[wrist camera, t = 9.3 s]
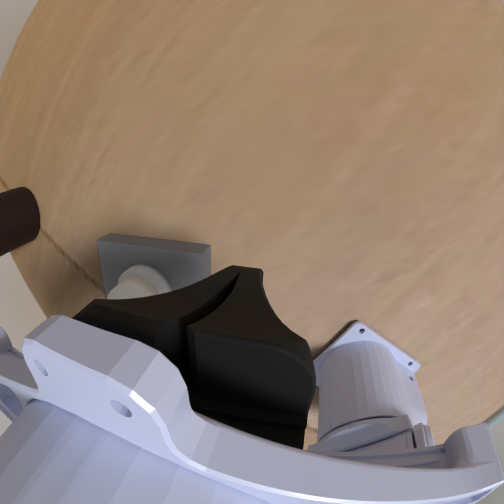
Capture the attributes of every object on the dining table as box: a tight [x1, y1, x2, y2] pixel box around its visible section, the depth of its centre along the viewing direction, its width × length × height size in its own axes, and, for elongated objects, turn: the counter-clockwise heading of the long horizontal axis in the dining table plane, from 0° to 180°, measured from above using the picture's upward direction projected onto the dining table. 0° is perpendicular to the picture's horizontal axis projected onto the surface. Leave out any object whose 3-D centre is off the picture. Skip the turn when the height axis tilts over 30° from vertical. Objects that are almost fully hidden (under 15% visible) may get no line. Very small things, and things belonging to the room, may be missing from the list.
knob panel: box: [97, 234, 211, 299], centre depth 25 cm, size 22×10×3 cm, turn 177°
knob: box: [107, 276, 159, 299], centre depth 20 cm, size 4×4×2 cm
